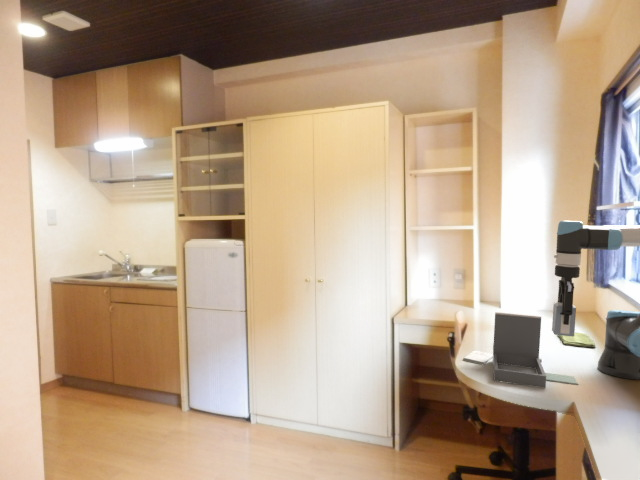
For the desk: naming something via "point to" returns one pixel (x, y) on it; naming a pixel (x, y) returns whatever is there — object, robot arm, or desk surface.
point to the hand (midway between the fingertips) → (563, 330)
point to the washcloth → (578, 340)
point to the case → (518, 348)
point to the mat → (561, 378)
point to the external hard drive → (478, 357)
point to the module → (557, 320)
